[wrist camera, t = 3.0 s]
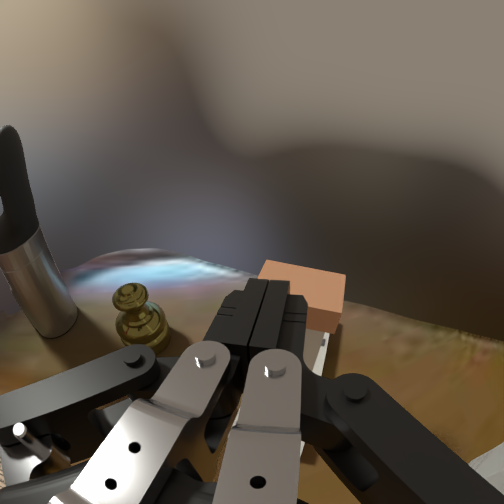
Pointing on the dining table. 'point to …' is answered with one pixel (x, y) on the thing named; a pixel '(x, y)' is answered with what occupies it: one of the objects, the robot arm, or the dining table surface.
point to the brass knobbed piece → (140, 318)
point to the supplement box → (491, 467)
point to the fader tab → (312, 300)
